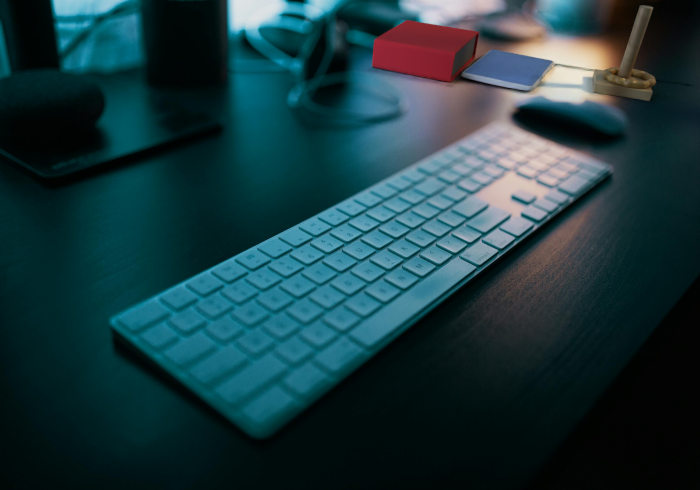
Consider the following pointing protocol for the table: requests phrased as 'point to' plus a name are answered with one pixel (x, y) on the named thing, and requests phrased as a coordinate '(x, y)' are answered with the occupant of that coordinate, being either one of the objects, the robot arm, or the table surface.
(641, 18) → the stand
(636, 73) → the ring
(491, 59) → the tablet
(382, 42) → the red box
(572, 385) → the table surface
